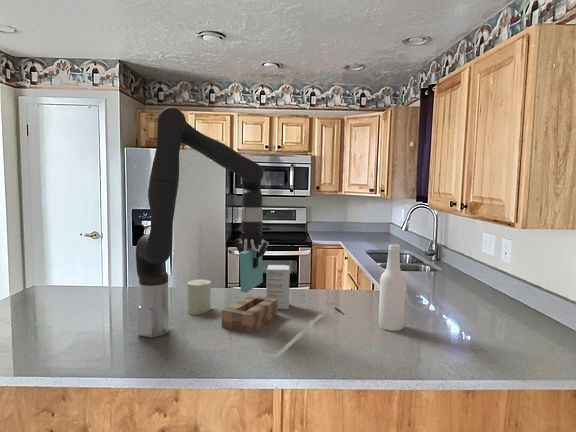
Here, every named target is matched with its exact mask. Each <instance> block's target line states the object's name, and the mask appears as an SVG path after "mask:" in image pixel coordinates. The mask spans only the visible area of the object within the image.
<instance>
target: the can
mask: <svg viewBox="0 0 576 432" xmlns="http://www.w3.org/2000/svg"><path fill="white" fill-rule="evenodd" d="M211 283H212V282H211V280H209V279H192V280H188V281H187V283H186V284H187V308H186V309H187V310H186V312H187V313H188V314H190V315H193V316H194V315H196V316H197V315H204V314H205V313H207V312H209V311H211V310H212V308H211V292H212V291H211V286H212V285H211Z"/></svg>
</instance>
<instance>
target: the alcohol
mask: <svg viewBox="0 0 576 432" xmlns="http://www.w3.org/2000/svg"><path fill="white" fill-rule="evenodd" d="M400 251H401V245H400V244H396V243H391V244H389V245H388V252H387V254H388V255H387V259H386V260H387V263H386V268H385V270H384V272H382V273H381V274H380V275H381V276H380V278H379V301H378V327H380V329H382V330H384V331H388V332H398V331H402V330H403V328H404V325H405V306H406V305H405V301H406V282H407V281H406V277H405V275H404V273H403V272H402V269H401V258H400V257H401V256H400V255H401V254H400Z"/></svg>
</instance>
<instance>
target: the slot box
mask: <svg viewBox="0 0 576 432" xmlns="http://www.w3.org/2000/svg"><path fill="white" fill-rule="evenodd" d="M278 311H279V309H278V299H272V298H266V297H263V296H257V295H250V294H249V295H247V296H246V297H244V298H242V299H240V300H238V301H236V302H235V303H233V304H232V303H231V305H228V306H226V307H224V308H223V309H221V328H225V329H228V330H229V329H230V330H235V331H241V332H247V333H251V334H253V333H254V332H255V331H256V330H258V329H259V328H261V327H262V326H264V325H265V324H267V323H268V322H269V321H271V320H273V319H274V318H275V317H276V316H278Z"/></svg>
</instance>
